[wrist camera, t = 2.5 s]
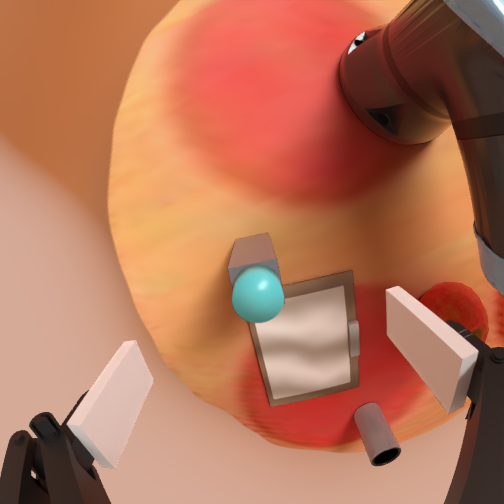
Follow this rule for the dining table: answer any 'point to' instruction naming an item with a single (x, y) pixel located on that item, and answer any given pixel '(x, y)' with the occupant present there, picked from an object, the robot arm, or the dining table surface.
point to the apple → (458, 307)
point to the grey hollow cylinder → (376, 434)
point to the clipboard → (310, 341)
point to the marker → (255, 279)
